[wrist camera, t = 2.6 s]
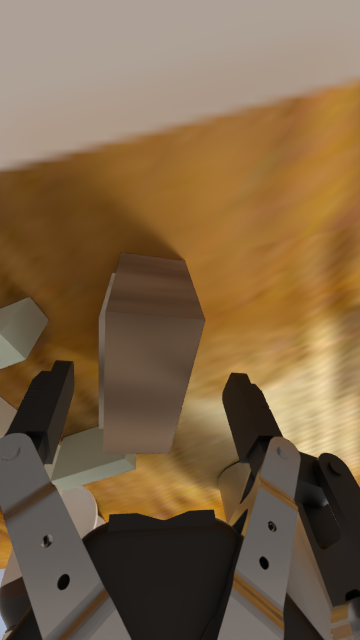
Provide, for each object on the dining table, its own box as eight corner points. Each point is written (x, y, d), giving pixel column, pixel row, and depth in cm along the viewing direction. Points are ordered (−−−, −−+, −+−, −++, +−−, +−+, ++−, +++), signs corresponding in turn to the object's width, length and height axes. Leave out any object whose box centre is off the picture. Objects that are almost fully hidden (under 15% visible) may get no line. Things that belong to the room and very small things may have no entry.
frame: (163, 372, 22) (169, 453, 16) (110, 369, 21) (95, 454, 15) (184, 260, 16) (205, 320, 10) (114, 251, 15) (94, 310, 10)
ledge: (141, 432, 26) (140, 474, 22) (55, 460, 27) (41, 503, 23) (19, 283, 16) (-16, 318, 12) (-111, 336, 17) (-174, 382, 14)
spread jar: (52, 527, 36) (17, 664, 26) (-5, 497, 30) (-78, 662, 20) (130, 506, 35) (123, 641, 25) (87, 470, 29) (57, 631, 19)
